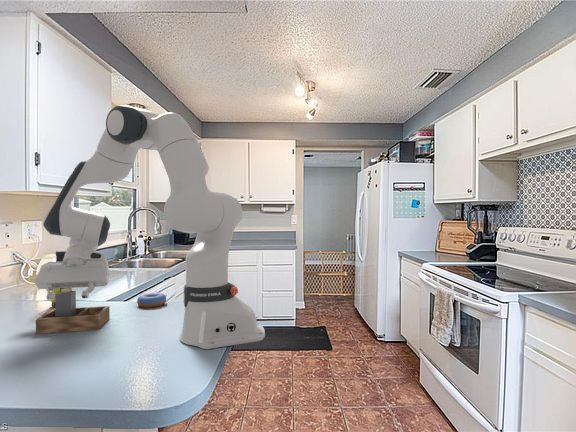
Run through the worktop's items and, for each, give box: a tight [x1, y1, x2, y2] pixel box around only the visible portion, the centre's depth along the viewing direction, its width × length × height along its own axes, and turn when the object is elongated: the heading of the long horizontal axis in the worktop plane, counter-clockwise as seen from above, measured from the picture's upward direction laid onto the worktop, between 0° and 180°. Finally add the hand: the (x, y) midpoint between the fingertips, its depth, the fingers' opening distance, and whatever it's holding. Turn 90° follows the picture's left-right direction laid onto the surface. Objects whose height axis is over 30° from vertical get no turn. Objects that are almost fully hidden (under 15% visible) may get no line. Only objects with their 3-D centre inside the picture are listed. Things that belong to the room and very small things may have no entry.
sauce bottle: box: [50, 250, 73, 308], centre depth 128 cm, size 7×6×20 cm
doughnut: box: [136, 292, 167, 309], centre depth 128 cm, size 10×10×5 cm
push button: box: [54, 288, 77, 317], centre depth 104 cm, size 4×4×10 cm
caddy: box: [35, 305, 111, 335], centre depth 105 cm, size 16×11×4 cm
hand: (67, 298), depth 106 cm, fingers open, 8 cm apart
